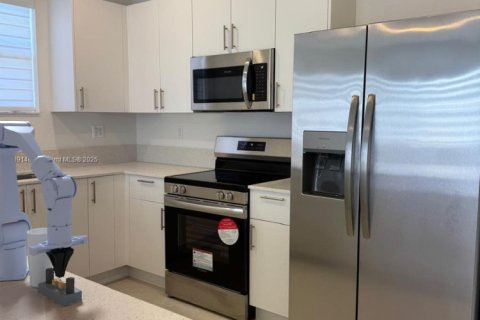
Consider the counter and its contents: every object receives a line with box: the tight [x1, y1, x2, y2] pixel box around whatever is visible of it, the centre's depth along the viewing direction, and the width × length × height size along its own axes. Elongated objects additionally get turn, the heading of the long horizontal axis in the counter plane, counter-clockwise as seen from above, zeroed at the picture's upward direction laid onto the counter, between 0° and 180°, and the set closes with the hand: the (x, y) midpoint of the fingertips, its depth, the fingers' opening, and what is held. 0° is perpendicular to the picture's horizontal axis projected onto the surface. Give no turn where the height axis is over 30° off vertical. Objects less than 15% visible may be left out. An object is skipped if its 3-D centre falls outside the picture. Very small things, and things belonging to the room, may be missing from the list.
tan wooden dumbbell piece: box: [52, 277, 66, 289], centre depth 108 cm, size 4×2×1 cm, turn 53°
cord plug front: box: [65, 276, 76, 294], centre depth 105 cm, size 2×2×4 cm
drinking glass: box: [25, 227, 53, 289], centre depth 114 cm, size 7×7×15 cm
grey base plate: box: [37, 277, 83, 307], centre depth 108 cm, size 12×5×2 cm, turn 53°
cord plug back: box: [46, 267, 55, 284], centre depth 110 cm, size 2×2×4 cm
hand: (59, 276), depth 107 cm, fingers closed
